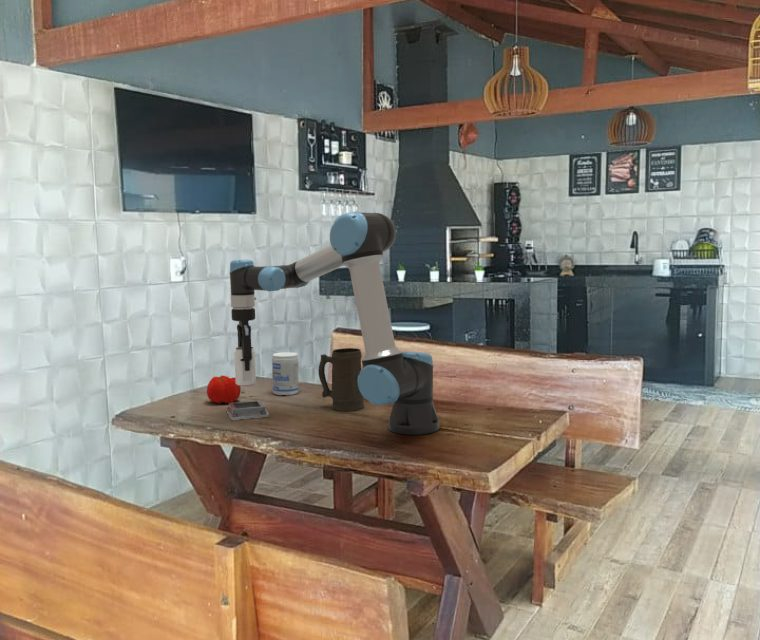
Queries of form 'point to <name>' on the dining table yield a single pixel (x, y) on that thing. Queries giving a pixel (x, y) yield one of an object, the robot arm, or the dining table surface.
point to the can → (239, 368)
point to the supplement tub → (285, 373)
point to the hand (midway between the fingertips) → (245, 378)
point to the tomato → (223, 389)
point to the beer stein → (343, 379)
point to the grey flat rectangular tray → (246, 410)
